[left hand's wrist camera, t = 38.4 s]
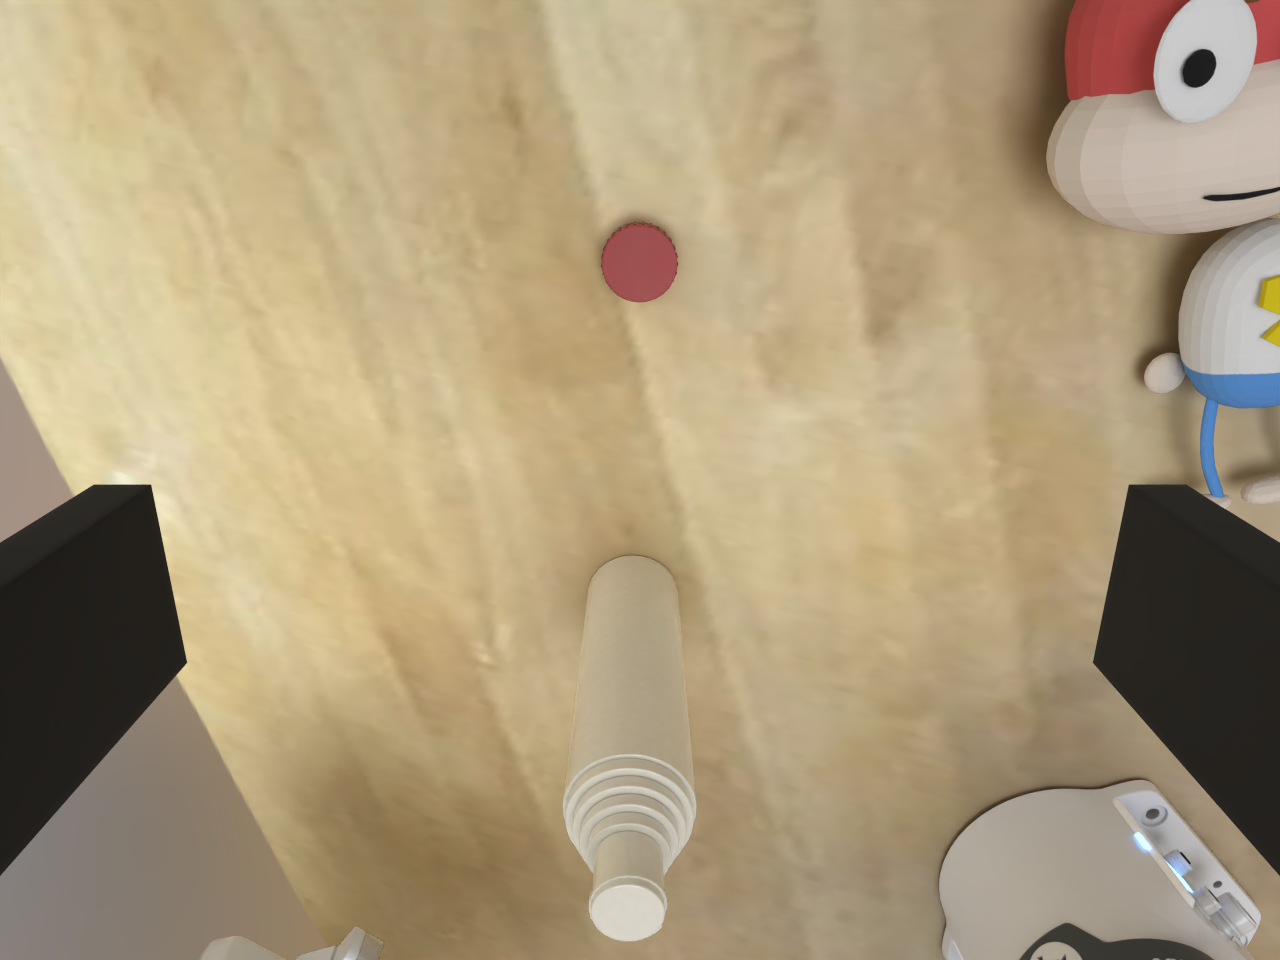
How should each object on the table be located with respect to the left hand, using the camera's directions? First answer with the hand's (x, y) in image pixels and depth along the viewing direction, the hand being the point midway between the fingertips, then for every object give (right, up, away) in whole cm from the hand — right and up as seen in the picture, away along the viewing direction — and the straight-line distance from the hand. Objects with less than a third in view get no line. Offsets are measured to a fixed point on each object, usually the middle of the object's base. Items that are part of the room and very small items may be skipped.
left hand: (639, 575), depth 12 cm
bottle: (0, -6, +41) cm, 42 cm away
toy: (+28, +14, +34) cm, 46 cm away
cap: (0, +12, +33) cm, 35 cm away
